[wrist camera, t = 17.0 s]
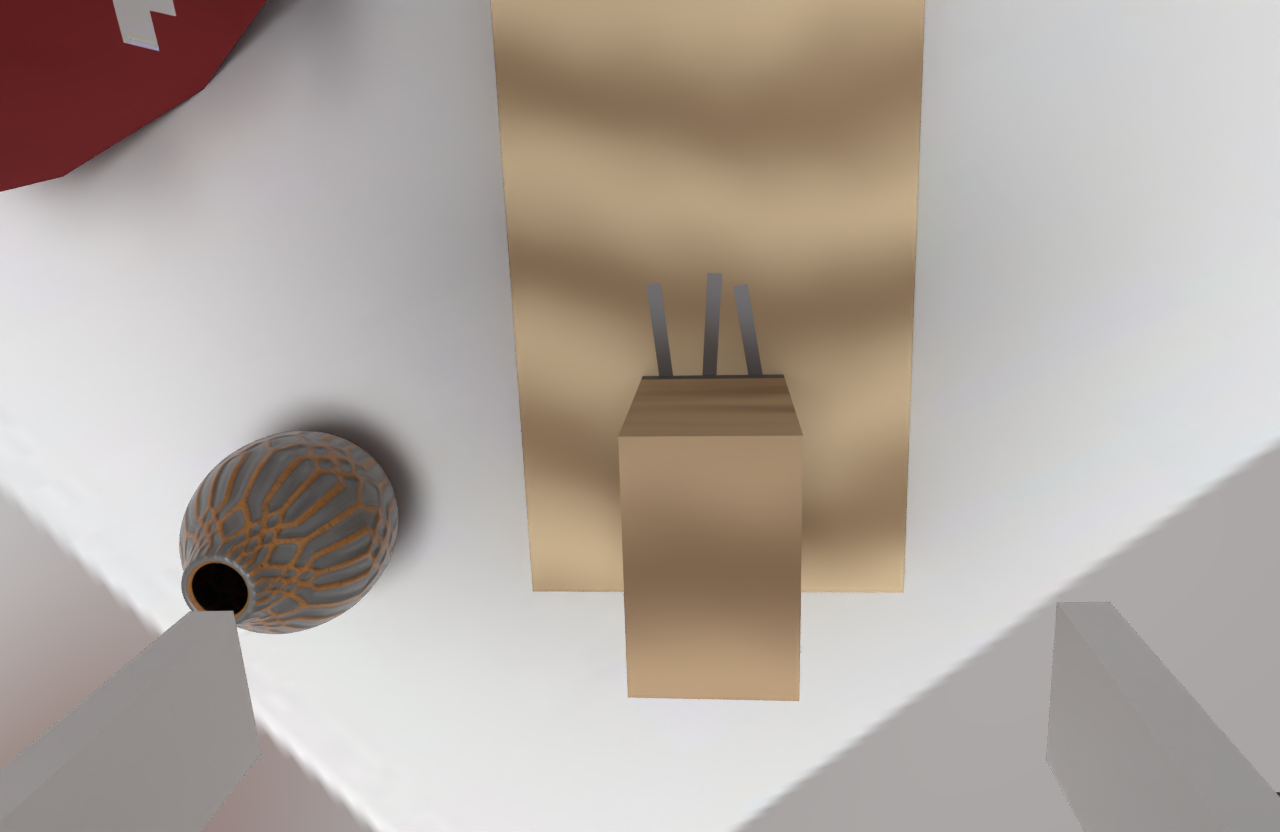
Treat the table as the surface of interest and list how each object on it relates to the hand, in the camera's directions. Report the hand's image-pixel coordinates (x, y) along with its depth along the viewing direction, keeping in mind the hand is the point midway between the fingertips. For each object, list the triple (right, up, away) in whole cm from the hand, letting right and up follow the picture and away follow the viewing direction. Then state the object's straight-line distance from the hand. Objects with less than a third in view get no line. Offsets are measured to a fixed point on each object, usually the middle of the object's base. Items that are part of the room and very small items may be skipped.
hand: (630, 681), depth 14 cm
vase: (-12, +1, +22) cm, 25 cm away
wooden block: (+3, +2, +19) cm, 19 cm away
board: (+3, +9, +18) cm, 20 cm away
